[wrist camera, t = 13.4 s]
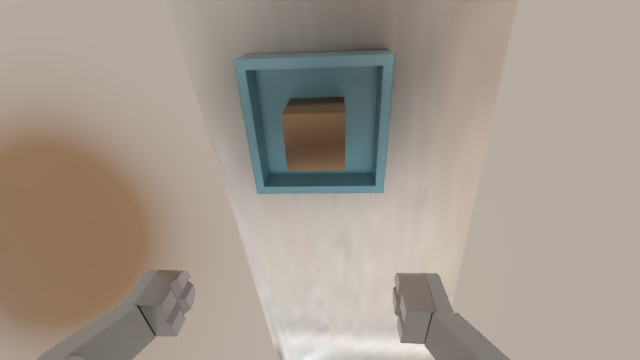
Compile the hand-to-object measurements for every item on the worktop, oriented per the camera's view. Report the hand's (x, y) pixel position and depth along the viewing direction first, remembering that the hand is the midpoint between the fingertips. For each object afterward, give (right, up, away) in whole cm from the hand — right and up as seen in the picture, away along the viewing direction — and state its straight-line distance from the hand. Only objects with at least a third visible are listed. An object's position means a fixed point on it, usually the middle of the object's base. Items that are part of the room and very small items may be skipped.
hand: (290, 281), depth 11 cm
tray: (+1, +10, +17) cm, 20 cm away
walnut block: (+1, +9, +16) cm, 19 cm away
